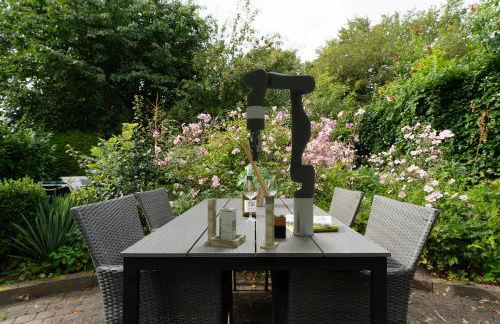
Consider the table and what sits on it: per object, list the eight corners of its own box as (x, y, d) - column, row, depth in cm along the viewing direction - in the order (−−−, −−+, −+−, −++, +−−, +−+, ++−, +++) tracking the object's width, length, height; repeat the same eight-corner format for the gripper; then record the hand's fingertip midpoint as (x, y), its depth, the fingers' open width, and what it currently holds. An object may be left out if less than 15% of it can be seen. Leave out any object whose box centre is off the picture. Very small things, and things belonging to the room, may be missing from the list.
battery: (285, 238, 140) (285, 216, 140) (270, 238, 140) (270, 215, 141) (286, 236, 144) (286, 214, 144) (271, 236, 145) (271, 214, 145)
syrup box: (223, 241, 135) (223, 207, 135) (236, 241, 133) (236, 207, 133) (218, 244, 129) (218, 208, 129) (232, 245, 128) (232, 209, 128)
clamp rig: (214, 238, 139) (214, 193, 140) (280, 243, 131) (280, 194, 131) (202, 245, 128) (202, 195, 128) (274, 250, 119) (273, 197, 120)
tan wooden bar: (243, 142, 132) (247, 140, 131) (270, 200, 128) (274, 199, 128) (240, 142, 128) (244, 140, 128) (268, 201, 124) (272, 199, 124)
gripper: (260, 115, 121) (260, 160, 121) (268, 120, 134) (268, 161, 133) (241, 116, 123) (241, 160, 123) (251, 121, 136) (251, 161, 136)
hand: (255, 161), depth 128 cm, fingers closed
